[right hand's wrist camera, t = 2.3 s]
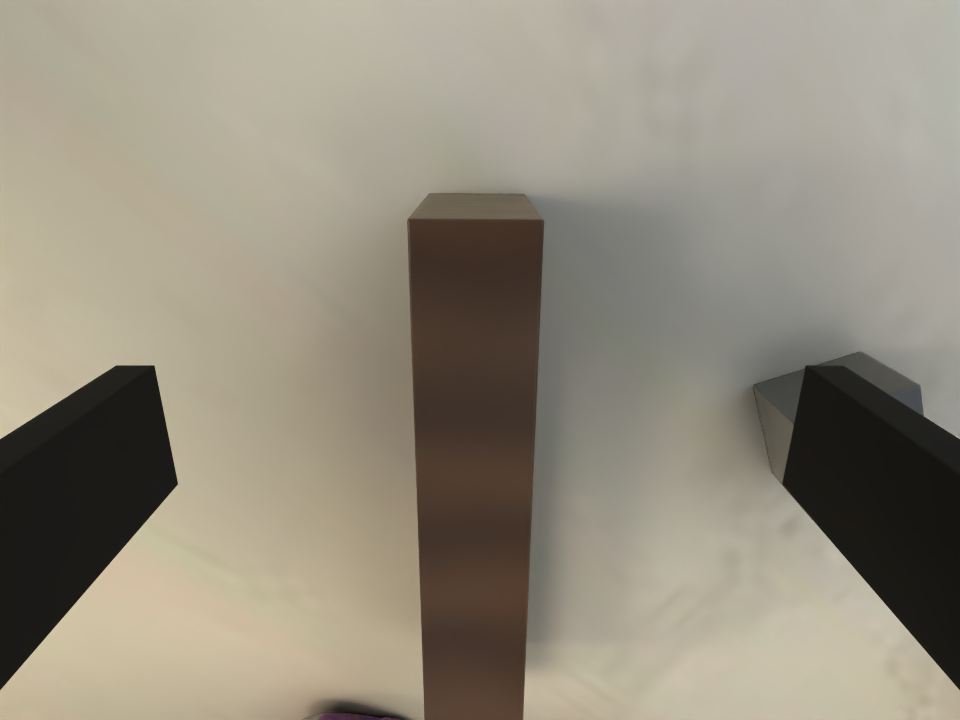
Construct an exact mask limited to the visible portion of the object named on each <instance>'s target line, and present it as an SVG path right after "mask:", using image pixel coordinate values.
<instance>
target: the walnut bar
mask: <svg viewBox="0 0 960 720" xmlns="http://www.w3.org/2000/svg"><path fill="white" fill-rule="evenodd" d="M407 226H408V254H409V283H410V312H411V340H412V369H413V397H414V426H415V455H416V483H417V512H418V540H419V569H420V598H421V626H422V655H423V683H424V712H425V720H523V709H524V685H525V661H526V638H527V614H528V590H529V567H530V543H531V519H532V496H533V472H534V448H535V424H536V401H537V377H538V353H539V330H540V306H541V282H542V259H543V235H544V220H543V219H542V217H541V216H540V215H539V213H538V212H537V211H536V209H535V208H534V207H533V205H532V204H531V203H530V201H529V200H528V198H527V197H526V196H525V195H524V194H437V193H430V194H428V196H427V197H426V198H425V199H424V201H423V202H422V203H421V204H420V205H419V207H418V208H417V209H416V210H415V211H414V213H413V214H412V215H411V216H410V217H409V219H408V221H407Z"/></svg>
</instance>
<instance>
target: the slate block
mask: <svg viewBox="0 0 960 720" xmlns="http://www.w3.org/2000/svg"><path fill="white" fill-rule="evenodd" d="M816 366H845V367H847V368H848V369H850V370H851V371H853V372H855V373H856V374H858V375H859V376H861V377H862V378H864V379H866V380H867V381H869V382H870V383H872V384H873V385H875V386H877V387H878V388H880V389H881V390H883V391H884V392H886V393H888V394H889V395H891V396H892V397H894V398H895V399H897V400H899V401H900V402H902V403H903V404H905V405H906V406H908V407H910V408H911V409H913V410H914V411H916V412H917V413H919V414H921V415H922V416H924V413H923V404H922V396H921V387H920V385H919V384H917V383H916V382H914V381H912V380H910V379H909V378H907V377H905V376H903V375H902V374H900V373H898V372H896V371H895V370H893V369H891V368H889V367H888V366H886V365H884V364H882V363H881V362H879V361H877V360H875V359H874V358H872V357H870V356H868V355H867V354H865V353H863V352H858V353H855V354H851V355H848V356H845V357H842V358H839V359H835V360H832V361H829V362H826V363H823V364H819V365H816ZM804 371H805V369H803V370H800V371H797V372H794V373H791V374H787V375H784V376H781V377H778V378H775V379H771V380H768V381H765V382H762V383H759V384H755V385H753V389H754V393H755V398H756V402H757V407H758V412H759V416H760V421H761V425H762V430H763V435H764V439H765V444H766V448H767V453H768V458H769V462H770V467H771V472H772V474H773V475H774V476H775V477H776V478H777V479H778V481H779V482H780V483H781V484H782V482H783V477H784V472H785V467H786V462H787V457H788V452H789V447H790V442H791V437H792V432H793V427H794V422H795V417H796V412H797V407H798V402H799V396H800V391H801V386H802V381H803V376H804ZM784 488H785V487H784ZM785 489H786V488H785ZM786 490H787V489H786ZM787 491H788V490H787ZM790 495H791V494H790ZM791 496H792V495H791ZM792 497H793V496H792ZM793 498H794V497H793ZM797 503H798V502H797ZM798 504H799V503H798ZM799 505H800V504H799ZM803 510H804V509H803ZM804 511H805V510H804ZM805 512H806V511H805ZM806 513H807V512H806ZM809 517H810V516H809ZM810 518H811V517H810ZM811 519H812V518H811ZM812 520H813V519H812Z"/></svg>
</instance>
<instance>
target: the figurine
mask: <svg viewBox="0 0 960 720" xmlns="http://www.w3.org/2000/svg"><path fill="white" fill-rule="evenodd" d="M303 720H401V719H396V718H390V717H384V718H378V717H372V716H366V715H360V714H349V713H322V714H318V715H313V716H310V717H307V718H304V719H303Z"/></svg>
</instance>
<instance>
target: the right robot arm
mask: <svg viewBox="0 0 960 720" xmlns="http://www.w3.org/2000/svg"><path fill="white" fill-rule="evenodd" d="M177 485H178V482H177V477H176V472H175V467H174V462H173V457H172V452H171V447H170V442H169V437H168V432H167V427H166V422H165V417H164V412H163V407H162V402H161V396H160V391H159V386H158V381H157V376H156V371H155V366H115V367H113V368H112V369H110V370H109V371H107V372H105V373H104V374H102V375H101V376H99V377H98V378H96V379H94V380H93V381H91V382H90V383H88V384H87V385H85V386H83V387H82V388H80V389H79V390H77V391H76V392H74V393H72V394H71V395H69V396H68V397H66V398H65V399H63V400H61V401H60V402H58V403H57V404H55V405H54V406H52V407H50V408H49V409H47V410H46V411H44V412H43V413H41V414H39V415H38V416H36V417H35V418H33V419H32V420H30V421H28V422H27V423H25V424H24V425H22V426H21V427H19V428H17V429H16V430H14V431H13V432H11V433H10V434H8V435H6V436H5V437H3V438H2V439H0V690H1V689H2V687H3V686H4V685H5V684H6V683H7V682H8V680H9V679H10V678H11V677H12V676H13V675H14V674H15V672H16V671H17V670H18V669H19V668H20V667H21V665H22V664H23V663H24V662H25V661H26V660H27V658H28V657H29V656H30V655H31V654H32V653H33V651H34V650H35V649H36V648H37V647H38V646H39V645H40V643H41V642H42V641H43V640H44V639H45V638H46V636H47V635H48V634H49V633H50V632H51V631H52V629H53V628H54V627H55V626H56V625H57V624H58V623H59V621H60V620H61V619H62V618H63V617H64V616H65V614H66V613H67V612H68V611H69V610H70V609H71V607H72V606H73V605H74V604H75V603H76V602H77V601H78V599H79V598H80V597H81V596H82V595H83V594H84V592H85V591H86V590H87V589H88V588H89V587H90V585H91V584H92V583H93V582H94V581H95V580H96V579H97V577H98V576H99V575H100V574H101V573H102V572H103V570H104V569H105V568H106V567H107V566H108V565H109V563H110V562H111V561H112V560H113V559H114V558H115V557H116V555H117V554H118V553H119V552H120V551H121V550H122V548H123V547H124V546H125V545H126V544H127V543H128V541H129V540H130V539H131V538H132V537H133V536H134V534H135V533H136V532H137V531H138V530H139V529H140V528H141V526H142V525H143V524H144V523H145V522H146V521H147V519H148V518H149V517H150V516H151V515H152V514H153V512H154V511H155V510H156V509H157V508H158V507H159V506H160V504H161V503H162V502H163V501H164V500H165V499H166V497H167V496H168V495H169V494H170V493H171V492H172V490H173V489H174V488H175V487H176V486H177ZM782 485H783V486H784V487H785V488H786V489H787V490H788V492H789V493H790V494H791V495H792V496H793V497H794V499H795V500H796V501H797V502H798V503H799V504H800V506H801V507H802V508H803V509H804V510H805V511H806V512H807V514H808V515H809V516H810V517H811V518H812V519H813V521H814V522H815V523H816V524H817V525H818V526H819V528H820V529H821V530H822V531H823V532H824V533H825V534H826V536H827V537H828V538H829V539H830V540H831V541H832V543H833V544H834V545H835V546H836V547H837V548H838V550H839V551H840V552H841V553H842V554H843V555H844V557H845V558H846V559H847V560H848V561H849V562H850V563H851V565H852V566H853V567H854V568H855V569H856V570H857V572H858V573H859V574H860V575H861V576H862V577H863V579H864V580H865V581H866V582H867V583H868V584H869V585H870V587H871V588H872V589H873V590H874V591H875V592H876V594H877V595H878V596H879V597H880V598H881V599H882V601H883V602H884V603H885V604H886V605H887V606H888V607H889V609H890V610H891V611H892V612H893V613H894V614H895V616H896V617H897V618H898V619H899V620H900V621H901V623H902V624H903V625H904V626H905V627H906V628H907V629H908V631H909V632H910V633H911V634H912V635H913V636H914V638H915V639H916V640H917V641H918V642H919V643H920V645H921V646H922V647H923V648H924V649H925V650H926V652H927V653H928V654H929V655H930V656H931V657H932V658H933V660H934V661H935V662H936V663H937V664H938V665H939V667H940V668H941V669H942V670H943V671H944V672H945V674H946V675H947V676H948V677H949V678H950V679H951V680H952V682H953V683H954V684H955V685H956V686H957V687H958V689H959V690H960V439H958V438H957V437H955V436H954V435H952V434H950V433H949V432H947V431H946V430H944V429H943V428H941V427H939V426H938V425H936V424H935V423H933V422H932V421H930V420H928V419H927V418H925V417H924V416H922V415H921V414H919V413H917V412H916V411H914V410H913V409H911V408H910V407H908V406H906V405H905V404H903V403H902V402H900V401H899V400H897V399H895V398H894V397H892V396H891V395H889V394H888V393H886V392H884V391H883V390H881V389H880V388H878V387H877V386H875V385H873V384H872V383H870V382H869V381H867V380H866V379H864V378H862V377H861V376H859V375H858V374H856V373H855V372H853V371H851V370H850V369H848V368H847V367H845V366H805V371H804V376H803V381H802V386H801V391H800V396H799V402H798V407H797V412H796V417H795V422H794V427H793V432H792V437H791V442H790V447H789V452H788V457H787V462H786V467H785V472H784V477H783V482H782Z"/></svg>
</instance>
